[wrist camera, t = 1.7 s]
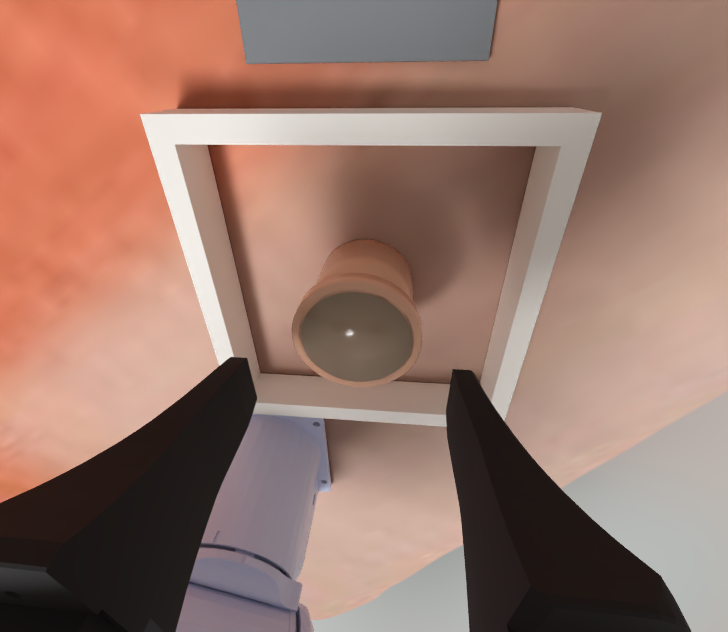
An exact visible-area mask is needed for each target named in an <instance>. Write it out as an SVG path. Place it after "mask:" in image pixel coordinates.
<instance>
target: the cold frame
mask: <svg viewBox="0 0 728 632" xmlns="http://www.w3.org/2000/svg"><path fill="white" fill-rule="evenodd" d="M601 115H602V113H600V112H595V111H589V110H584V109H579V108H574V107H492V108H222V109H171V110H164V111H157V112H151V113H144V114H140V116H141V119H142V122H143V125H144V128H145V132H146V135H147V138H148V141H149V144H150V147H151V151H152V154H153V157H154V160H155V163H156V166H157V170H158V173H159V176H160V179H161V182H162V185H163V189H164V192H165V195H166V198H167V201H168V205H169V208H170V211H171V214H172V217H173V220H174V224H175V227H176V230H177V233H178V236H179V239H180V243H181V246H182V249H183V252H184V255H185V259H186V262H187V265H188V268H189V271H190V274H191V278H192V281H193V284H194V287H195V290H196V293H197V297H198V300H199V303H200V306H201V309H202V313H203V316H204V319H205V322H206V325H207V328H208V332H209V335H210V338H211V341H212V344H213V347H214V351H215V354H216V357H217V360H218V363H219V366H220V365H221V364H222V363H224V362H225V361H226V360H227V359H229V358H230V357H242V358H247V359H248V363H249V367H250V371H251V375H252V379H253V383H254V387H255V391H256V395H257V401H256V404H255V408H254V411H253V414H266V415H281V416H295V417H310V418H325V419H339V420H354V421H369V422H383V423H398V424H413V425H427V426H442V427H447V424H446V406H447V400H448V395H449V389H450V384H437V383H420V382H403V381H391V382H388V383H386V384H382V385H378V386H372V387H353V386H346V385H342V384H338V383H335V382H333V381H330V380H328V379H326V378H324V377H318V376H301V375H284V374H267V373H260V369H259V365H258V360H257V356H256V352H255V348H254V343H253V339H252V335H251V330H250V326H249V322H248V317H247V313H246V309H245V305H244V300H243V296H242V292H241V287H240V283H239V279H238V274H237V270H236V266H235V262H234V257H233V253H232V249H231V244H230V240H229V236H228V231H227V227H226V223H225V219H224V214H223V210H222V206H221V201H220V197H219V193H218V188H217V184H216V180H215V176H214V171H213V167H212V163H211V158H210V154H209V150H208V145H391V146H536V149H535V154H534V158H533V162H532V166H531V170H530V175H529V179H528V183H527V187H526V191H525V196H524V200H523V204H522V208H521V212H520V217H519V221H518V225H517V229H516V233H515V237H514V242H513V246H512V250H511V254H510V258H509V263H508V267H507V271H506V275H505V279H504V284H503V288H502V292H501V296H500V300H499V305H498V309H497V313H496V317H495V321H494V326H493V330H492V334H491V338H490V342H489V347H488V351H487V355H486V359H485V363H484V368H483V372H482V376H481V380H480V385H481V386H482V388H483V390H484V391H485V393H486V395H487V396H488V398H489V399H490V401H491V403H492V404H493V406H494V407H495V409H496V410H497V412H498V413H499V414H500V416H501V417H502V419H503V420H504V421H505V418H506V414H507V411H508V408H509V405H510V402H511V399H512V396H513V392H514V389H515V386H516V383H517V380H518V377H519V374H520V370H521V367H522V364H523V361H524V358H525V355H526V351H527V348H528V345H529V342H530V339H531V336H532V333H533V329H534V326H535V323H536V320H537V317H538V314H539V311H540V307H541V304H542V301H543V298H544V295H545V292H546V289H547V285H548V282H549V279H550V276H551V273H552V270H553V266H554V263H555V260H556V257H557V254H558V251H559V248H560V244H561V241H562V238H563V235H564V232H565V229H566V226H567V222H568V219H569V216H570V213H571V210H572V207H573V204H574V200H575V197H576V194H577V191H578V188H579V185H580V181H581V178H582V175H583V172H584V169H585V166H586V163H587V159H588V156H589V153H590V150H591V147H592V144H593V141H594V137H595V134H596V131H597V128H598V125H599V122H600V118H601Z"/></svg>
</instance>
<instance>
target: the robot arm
mask: <svg viewBox="0 0 728 632" xmlns="http://www.w3.org/2000/svg"><path fill="white" fill-rule="evenodd" d="M256 401H257V395H256V391H255V387H254V383H253V379H252V375H251V371H250V367H249V363H248V359H247V358H242V357H230V358H229V359H227V360H226V361H225V362H224V363H222V364H221V365H220V366H219V367H218V368H217V369H215V370H214V371H213V372H212V373H211V374H210V375H208V376H207V377H206V378H205V379H204V380H203V381H201V382H200V383H199V384H198V385H197V386H195V387H194V388H193V389H192V390H191V391H189V392H188V393H187V394H186V395H184V396H183V397H182V398H181V399H179V400H178V401H177V402H175V403H174V404H173V405H172V406H170V407H169V408H168V409H166V410H165V411H164V412H162V413H161V414H160V415H158V416H157V417H156V418H154V419H153V420H152V421H150V422H149V423H147V424H146V425H145V426H143V427H142V428H140V429H139V430H137V431H136V432H134V433H133V434H131V435H129V436H128V437H126V438H125V439H123V440H122V441H120V442H119V443H117V444H115V445H113V446H112V447H110V448H108V449H107V450H105V451H103V452H101V453H100V454H98V455H96V456H95V457H93V458H91V459H89V460H88V461H86V462H84V463H82V464H80V465H79V466H77V467H75V468H73V469H71V470H69V471H67V472H65V473H63V474H61V475H59V476H57V477H55V478H53V479H51V480H49V481H47V482H45V483H43V484H41V485H39V486H37V487H35V488H33V489H31V490H28V491H26V492H24V493H22V494H19V495H17V496H15V497H13V498H11V499H8V500H6V501H4V502H2V503H0V632H314V629H313V625H312V622H311V620H310V615H309V611H308V609H307V607H306V606H305V605H303V604H300V603H299V599H300V594H301V589H302V583H299V582H296V580H297V578H298V576H299V574H300V572H301V569H302V566H303V562H304V558H305V553H306V548H307V543H308V538H309V534H310V529H311V524H312V519H313V514H314V509H315V504H316V500H317V495H318V491H323V492H328V491H330V490H331V477H330V468H329V459H328V449H327V440H326V431H325V422H324V418H310V417H295V416H281V415H266V414H253V411H254V408H255V404H256ZM446 424H447V438H448V444H449V450H450V456H451V461H452V467H453V472H454V478H455V483H456V489H457V494H458V500H459V506H460V513H461V521H462V533H463V544H464V556H465V568H466V582H467V597H468V613H469V628H470V632H691V630H690V628H689V626H688V624H687V622H686V620H685V618H684V616H683V614H682V612H681V610H680V608H679V606H678V604H677V603H676V601H675V599H674V597H673V595H672V594H671V592H670V591H669V589H668V587H667V586H666V584H665V582H664V581H663V579H662V577H661V576H660V575H659V574H658V573H656V572H655V571H654V570H652V569H651V568H650V567H649V566H648V565H646V564H645V563H644V562H643V561H641V560H640V559H639V558H638V557H636V556H635V555H634V554H633V553H631V552H630V551H629V550H628V549H626V548H625V547H624V546H623V545H621V544H620V543H619V542H618V541H616V540H615V539H614V538H613V537H612V536H611V535H609V534H608V533H607V532H606V531H605V530H604V529H603V528H601V527H600V526H599V525H598V524H597V523H596V522H595V521H593V520H592V519H591V518H590V517H589V516H588V515H587V514H586V513H585V512H584V511H583V510H582V509H581V508H580V507H579V506H578V505H576V503H575V502H574V501H573V500H571V498H570V497H568V496H567V495H566V494H565V493H564V492H563V491H562V490H561V489H560V488H559V487H558V485H557V484H556V483H555V482H554V481H553V480H552V479H551V478H550V477H549V476H548V475H547V474H546V473H545V472H544V470H543V469H542V468H541V467H540V466H539V465H538V464H537V463H536V461H535V460H534V459H533V458H532V457H531V456H530V454H529V453H528V452H527V451H526V449H525V448H524V447H523V446H522V444H521V443H520V442H519V441H518V439H517V438H516V437H515V435H514V434H513V433H512V431H511V430H510V429H509V427H508V426H507V425H506V423H505V422H504V420H503V419H502V417H501V416H500V414H499V413H498V412H497V410H496V409H495V407H494V406H493V404H492V403H491V401H490V399H489V398H488V396H487V395H486V393H485V391H484V390H483V388H482V386H481V385H480V383H479V381H478V379H477V378H476V376H475V374H474V373H473V372H472V371H471V370H456V369H453V372H452V378H451V383H450V389H449V395H448V400H447V406H446Z"/></svg>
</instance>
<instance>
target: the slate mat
mask: <svg viewBox="0 0 728 632" xmlns="http://www.w3.org/2000/svg"><path fill="white" fill-rule="evenodd" d="M497 1H498V0H236V2H237V8H238V14H239V21H240V27H241V33H242V40H243V46H244V52H245V59H246V64H282V63H352V62H423V61H487V60H489V54H490V47H491V41H492V34H493V28H494V21H495V14H496V8H497Z"/></svg>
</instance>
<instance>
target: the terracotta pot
mask: <svg viewBox="0 0 728 632" xmlns="http://www.w3.org/2000/svg"><path fill="white" fill-rule="evenodd" d="M292 338H293V342H294V345H295V348H296V350H297V352H298V354H299V356H300V357H301V358H302V360H303V361H304V362H305V363H306V364H307V365H308V367H310V368H311V369H312V370H313V371H314V372H316V373H317V374H319V375H320V376H322V377H324V378H326V379H328V380H330V381H333V382H335V383H338V384H342V385H346V386H353V387H372V386H378V385H382V384H386V383H388V382H391V381H393V380H395V379H397V378H399V377H400V376H402V375H403V374H405V373H406V372H407V371H408V370H409V369H410V368H411V367H412V366H413V364H414V363H415V361H416V360H417V358H418V356H419V353H420V350H421V345H422V329H421V320H420V316H419V313H418V310H417V308H416V306H415V304H414V303H413V288H412V274H411V271H410V268H409V265H408V263H407V262H406V260H405V259H404V257H403V256H402V255H401V254H400V253H399V252H398V251H397V250H395V249H394V248H392V247H391V246H389V245H387V244H385V243H382V242H380V241H375V240H368V239H362V240H354V241H351V242H348V243H345V244H343V245H341V246H340V247H338V248H337V249H336V250H334V251H333V252H332V253H331V254H330V256H329V257H328V258H327V260H326V262H325V264H324V266H323V269H322V271H321V273H320V276H319V278H318V281H317V283H316V285H315V286H313V287H312V288H311V289H310V290H309V291H308V292H307V293H306V294H305V296H304V297H303V299H302V301H301V303H300V305H299V307H298V309H297V312H296V314H295V316H294V319H293V323H292Z"/></svg>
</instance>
